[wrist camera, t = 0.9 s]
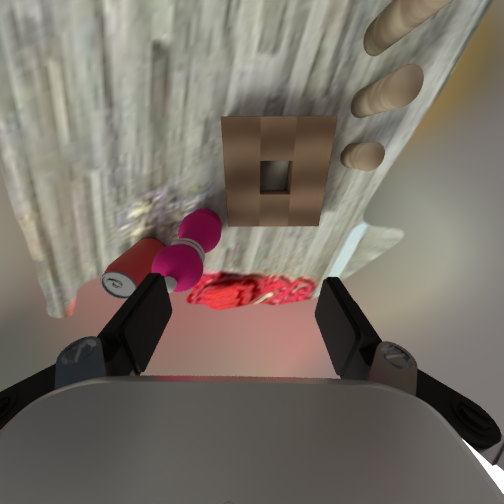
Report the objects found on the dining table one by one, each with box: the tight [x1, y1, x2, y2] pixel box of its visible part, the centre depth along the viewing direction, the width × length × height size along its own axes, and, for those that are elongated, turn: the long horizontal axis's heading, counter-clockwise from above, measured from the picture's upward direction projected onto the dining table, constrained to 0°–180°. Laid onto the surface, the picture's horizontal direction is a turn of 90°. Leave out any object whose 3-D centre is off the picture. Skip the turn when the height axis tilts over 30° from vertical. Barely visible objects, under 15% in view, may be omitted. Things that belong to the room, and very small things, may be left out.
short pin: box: [341, 142, 385, 171], centre depth 29 cm, size 4×4×6 cm
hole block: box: [221, 116, 337, 226], centre depth 32 cm, size 16×16×4 cm
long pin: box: [364, 0, 452, 56], centre depth 19 cm, size 4×4×14 cm
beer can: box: [100, 238, 165, 299], centre depth 35 cm, size 7×7×12 cm
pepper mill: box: [152, 209, 221, 293], centre depth 29 cm, size 7×7×20 cm
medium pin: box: [351, 64, 424, 118], centre depth 25 cm, size 4×4×9 cm
